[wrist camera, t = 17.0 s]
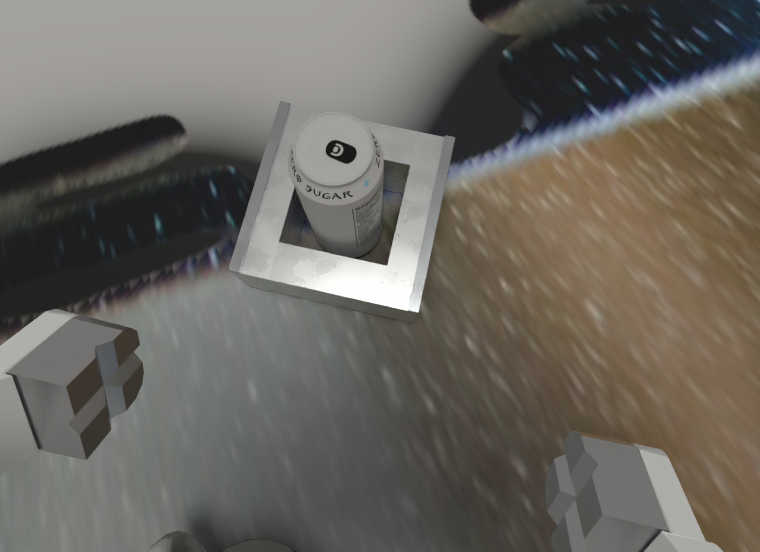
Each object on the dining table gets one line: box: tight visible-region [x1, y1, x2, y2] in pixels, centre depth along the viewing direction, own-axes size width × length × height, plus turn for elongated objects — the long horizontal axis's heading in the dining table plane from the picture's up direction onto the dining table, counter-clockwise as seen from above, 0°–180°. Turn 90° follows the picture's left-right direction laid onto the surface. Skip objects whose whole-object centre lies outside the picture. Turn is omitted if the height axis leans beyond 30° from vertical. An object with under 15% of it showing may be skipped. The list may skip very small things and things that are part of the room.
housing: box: [228, 102, 455, 323], centre depth 39 cm, size 14×14×6 cm
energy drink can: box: [288, 112, 384, 258], centre depth 35 cm, size 6×6×15 cm
